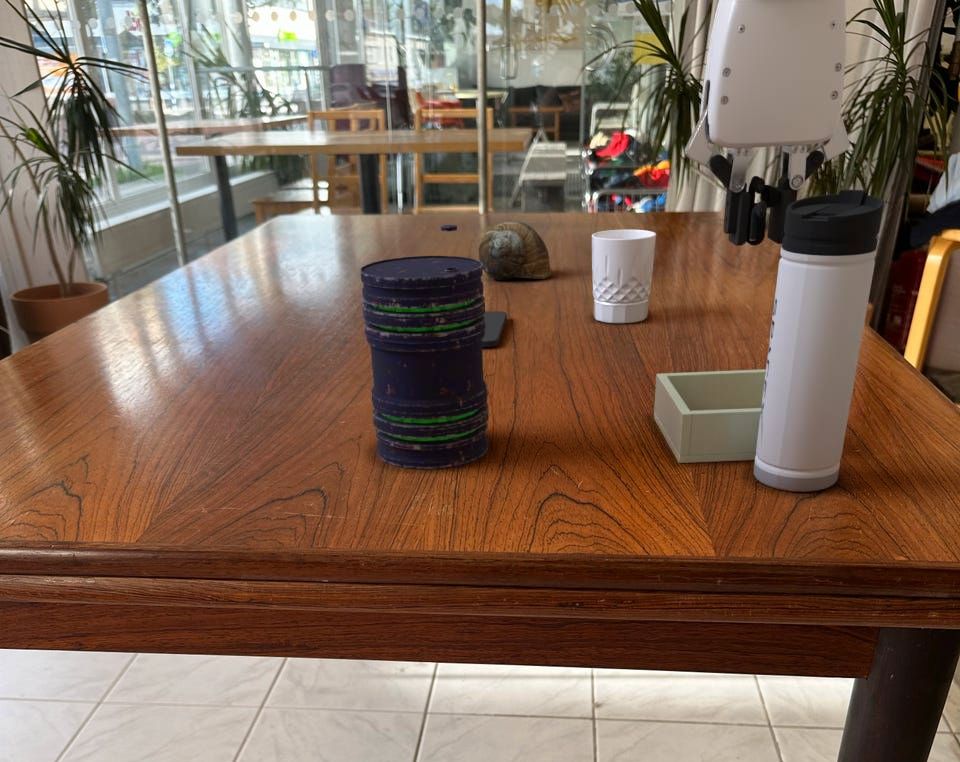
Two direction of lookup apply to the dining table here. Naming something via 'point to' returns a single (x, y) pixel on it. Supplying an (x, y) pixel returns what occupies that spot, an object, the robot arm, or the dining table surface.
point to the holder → (710, 414)
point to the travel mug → (816, 338)
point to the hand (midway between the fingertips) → (756, 240)
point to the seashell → (514, 252)
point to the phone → (493, 327)
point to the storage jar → (427, 359)
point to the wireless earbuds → (759, 209)
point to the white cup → (622, 274)
